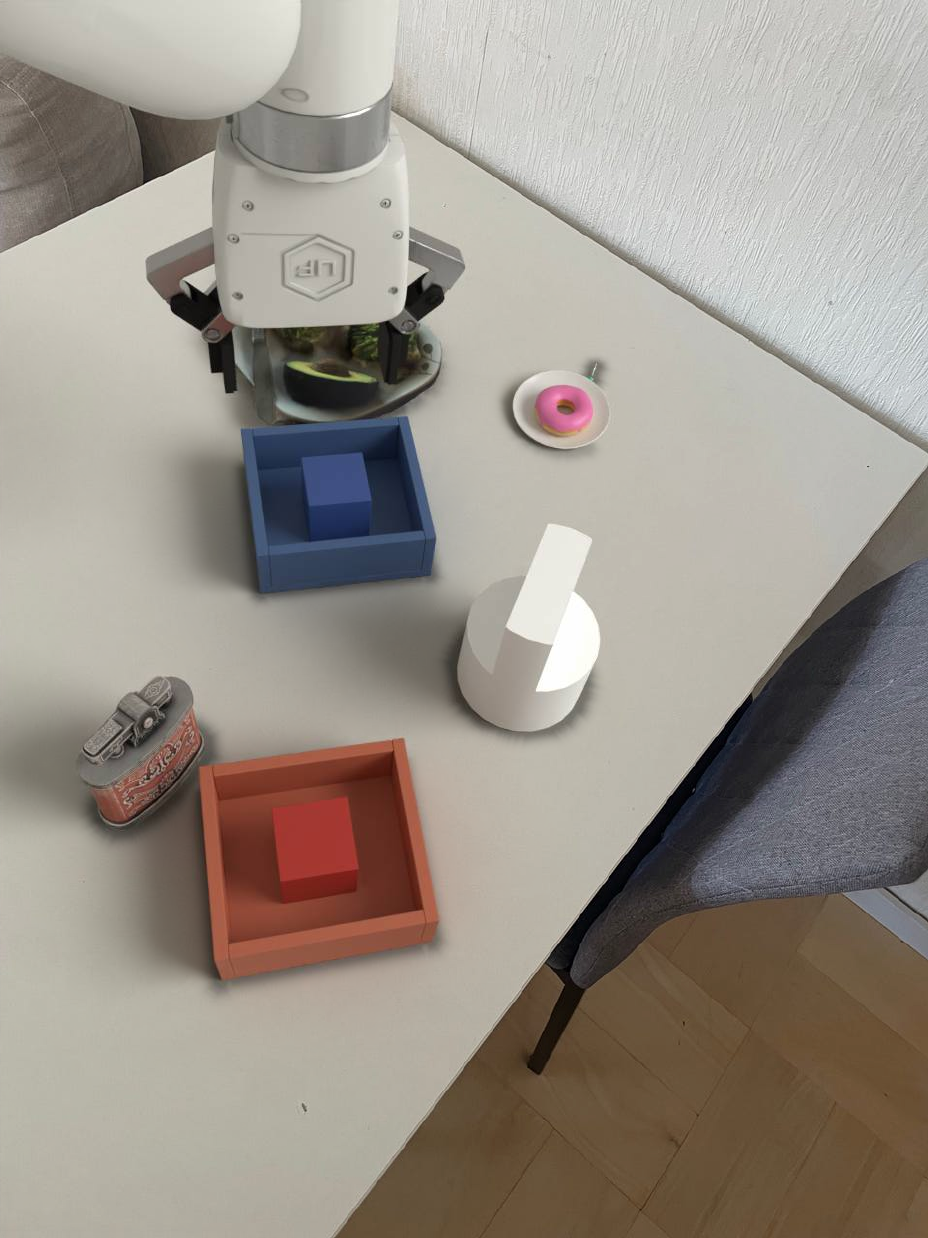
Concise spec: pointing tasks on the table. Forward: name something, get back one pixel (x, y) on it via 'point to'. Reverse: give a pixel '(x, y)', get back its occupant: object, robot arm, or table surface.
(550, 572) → the cylinder with rectangular tab
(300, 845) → the red block
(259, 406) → the salad plate
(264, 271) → the robot arm
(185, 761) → the lighter
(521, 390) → the donut
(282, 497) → the blue bin
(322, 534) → the blue block
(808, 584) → the table surface
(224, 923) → the terracotta bin
